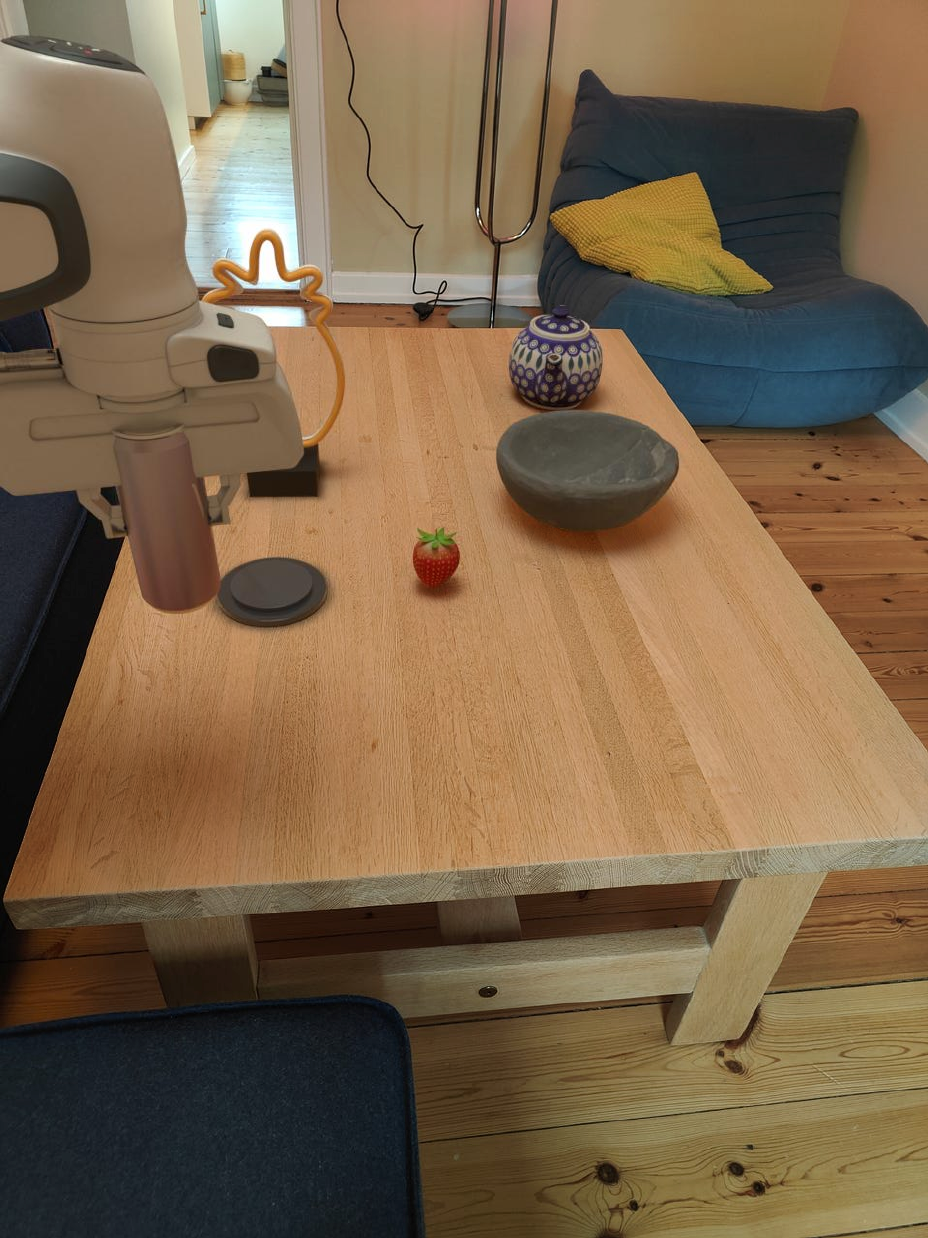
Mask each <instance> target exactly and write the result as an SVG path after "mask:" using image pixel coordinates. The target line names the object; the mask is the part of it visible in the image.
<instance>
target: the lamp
mask: <svg viewBox="0 0 928 1238" xmlns="http://www.w3.org/2000/svg"><path fill="white" fill-rule="evenodd" d="M266 241H268V242H270V243H271V245H272V248H273V254H274V261H275V268H276V271H277V274H278V277H279V278H280V279H281V280H282V281H283V282H285V283H294V282H298V281H300V280H302V279H304V278H308V277H313V279H312V280H310V282H307V284H305V285H304V286H303V287H302V288H301V289H300V291H299V297H300V298H301V299H302V300H304V301H305V300H306V301H309V302H312V303H314V304H319V305H320V306H318V307H317V308H315V309H312V310H310V311H309V313H308V318H309V320H311V322H312V323H313V325H315V328H316V329H317V331H318V332H319V334H320V335H321V337H322V338H323V340H324V342H325V344H326V345H327V347H328V349H329V351H330V354H331V357H332V359H333V363H334V366H335V371H336V372H335V373H336V392H335V397H334V400H333V403H332V405H331V408H330V410H329V412H328V414H327V416H326V418H325V420H324V421H323V423H322V424H321V426H320V427H319V428H318V429H317V430H316V431H315V433H313V434H311V435H309V436H302V439H303V447H304V455H303V457H302V458H301V459H300V461H299V462H298V464H297V465H296V466H295V467H293V468H289V469H279V470H269V471H259V472H249V473H246V476H247V484H248V485H247V486H248V493H249V497H251V498H252V497H253V498H255V497H257V498H258V497H259V498H260V497H262V498H263V497H266V498H267V497H268V498H269V497H318V495H319V494H318V493H319V478H320V464H321V463H320V448H319V443H320V442H321V441H323V440H324V439H325V437H326V436H327V435H328V434H329V432H330V431H331V429H332V428H333V426H334V424H335V423H336V420H337V418H338V416H339V414H340V411H341V408H342V405H343V403H344V397H345V389H346V373H345V366H344V365H345V364H344V360H343V356H342V353H341V350H340V348H339V345H338V343H337V340H336V339H335V336H334V334H333V332H332V331H331V329H330V327H329V326H328V324H327V323H326V322H325V321H326V320H327V319H328V318H329V316H330V314H331V313H332V311H333V309H334V301H333V300H332V298H331V297H330V296H329V295H328V294H326V293H323V292H320V291H318V290H319V289H320V288H321V286H322V284H323V282H324V275H323V271H322V269H321V268H320V267H318V266H317V265H314V264H303V265H300V266H299V267H296V268H294V269H288V268H287V265H286V260H285V259H286V258H285V250H284V244H283V241H282V239H281V236H280V235H279V234H278V232H276V230H275V229H273V228H263V229H261V230H259V231H258V232H257V233H256V235H255V236H254V238H253V240H252V243H251V246H250V248H249V249H250V250H249V259H248V268H246V267H244V266H242V265H241V264H239V263H238V262H236V261H235V260H233V259H231V258H227V257H220V258H217V260H215V262H214V264H213V265H212V275H213V277H214V278H215V279H216V281H217V282H219V283H220V284H222V285H223V287H217V288H215V289H212V290H210V291H207V293H205V294H204V296H203V297H202V299H201V301H202V302H206V303H210V304H215V303H216V302H218V301H220V300H224V299H228V298H231V297H233V296H237V295H241V294H242V293H243V292H244V289H245V288H244V287H243V285H242V284H241V283H240V282H239V281H238V280H237V279H236V278H235V277H237V278H238V279H239V280H241V281H243V282H246V283H249V284H250V285H251V286H258V284H259V279H260V258H261V249H262V246H263V244H264V243H265V242H266ZM231 274H232V275H231ZM233 275H234V276H233ZM220 306H221V307H225V308H229V309H233V310H236V308H234V307H231V306H227V305H220Z"/></svg>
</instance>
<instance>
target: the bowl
mask: <svg viewBox="0 0 928 1238" xmlns="http://www.w3.org/2000/svg"><path fill="white" fill-rule="evenodd" d="M495 452H496V453H495V462H496V468H497V471H498V474H499V477H500V480H501V482H502V484H503V486H504V488H505V490H506V492H507V493H508V495H509V496H510V498H511V499H512V500H513V501H514V502H515V503H516V504H517V505H518V506H519V507H520V508H521V509H522V510H523V511H524V513H526V514H527V515H528V516H530V517H532V518H533V519H535V520H537V521H539V522H541V523H543V524H545V525H548V526H551V527H554V528H556V529H562V530H568V531H571V532H572V531H573V532H600V531H606V530H607V531H608V530H612V529H616V528H620V527H623V526H625V525H627V524H630V523H631V522H634V521H636V520H638V519H639V518H640V517H641V516H643V515H645V514H646V513H647V512H649V510H651V509H652V508H653V507H654V506H655V505H656V504H658V503H659V501H660V500H661V499H662V498H663V497H664V496H665V494H666V493H667V492H668V491H669V489H670V488H671V487H672V484H673V483H674V482H675V479H676V478H677V476H678V474H679V473H678V472H679V470H680V458H679V452H678V450H677V449H676V447H675V446H674V445H673V444H672V443H671V442H670V441H668V440H666V439H665V438H664V437H662V436H661V435H660V433H658V432H657V431H655V430H654V429H653V428H651V427H650V426H649V425H647V424H644V423H642V422H639V421H637V420H634V419H631V418H628V417H624V416H621V415H619V414H618V415H617V414H613V413H608V412H603V411H595V410H587V409H585V410H584V409H581V410H579V409H566V410H552V411H547V412H541V413H536V414H532V415H530V416H526V417H523V418H522V419H519V420H516V421H515V422H513V423H512V424H511V425H509V427H507V429H505V431H504V432H503V433H502V435H501V437H500V439H499V440H498V442H497V446H496V451H495Z"/></svg>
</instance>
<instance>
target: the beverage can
mask: <svg viewBox="0 0 928 1238" xmlns="http://www.w3.org/2000/svg"><path fill="white" fill-rule="evenodd" d="M185 427H186V425H185V424H182V425H180V426H178V427H176V428H175V427H173V426H171V427H159V428H146V429H134V430H124V431H123V432H122V433H120V432H117V431H115V430H111V434H113V435H115V442H114V446H113V450H114V454H115V458H116V462H117V466H118V470H119V474H120V479H121V485H120V486H115V488H116V492H117V496H118V501H119V505H121V510H122V514H123V517H124V521H125V526H126V530H127V534H128V536H127V538H128V539H127V540H128V543H129V547H130V553H131V555H132V560H133V565H134V568H135V574H136V577H137V581H138V585H139V586H138V587H139V590H140V593H141V597H142V599H143V601H144V602H146V604H148V605H149V606H150V607H151V608H153V609H154V610H156V611H158V612H161V613H164V614H170V615H184V614H189V613H193V612H197V611H200V610H202V609H203V608H206V607H207V606H208V605H209V604H211V603H212V602H213V601H214V600H215V599H216V598H217V594H218V592H219V589H220V587H221V580H222V578H221V573H220V568H219V567H220V566H219V560H218V555H217V554H218V553H217V548H216V542H215V536H214V530H213V526H211V525H210V516H209V512H208V498H207V496H208V493H207V487H206V486H207V485H206V481H205V480H206V479H205V477H200V478H197V477H196V476H195V473H194V470H193V464H192V457H191V451H190V444H189V440H188V439H187V437H186V436H185V434H184V433H183V431H182V429H184V428H185ZM124 433H125V434H124Z"/></svg>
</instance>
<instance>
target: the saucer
mask: <svg viewBox="0 0 928 1238" xmlns="http://www.w3.org/2000/svg"><path fill="white" fill-rule="evenodd" d="M327 593H328V586H327V581H326V578H325V576H324V575H323V573H322V572H321V571H320V570H319V569H318V568H317V567H316V566H314V565H312V564H310V563H308V562H306V561H303V560H300V559H297V558H291V557H284V556H283V557H282V556H277V557H275V556H273V557H272V556H271V557H263V558H262V557H261V558H258V559H257V558H256V559H253V560H250V561H247V562H244V563H242V564H239V565H238V566H235V567H234V568H232V569H231V570H229V571H228V572H227V573H226V574H225V575H224V576H223V577H222V578H221V587H220V589H219V592H218V594H217V595H216V598H217V603H218V606H219V607H220V609H221V610H222V612H223V613H224V614H225V615H226V616H227V617H229V618H231V619H232V620H234V621H236V622H238V623H242V624H244V625H248V626H253V627H264V628H270V627H281V626H286V625H287V626H288V625H291V624H294V623H296V622H299V621H303V620H304V619H307V618H308V617H310V616H311V615H313V614H314V613H316V612H317V611H318V610H319V609H320V608H321V606H322V605H323V604H324V602H325V600H326V598H327Z"/></svg>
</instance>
